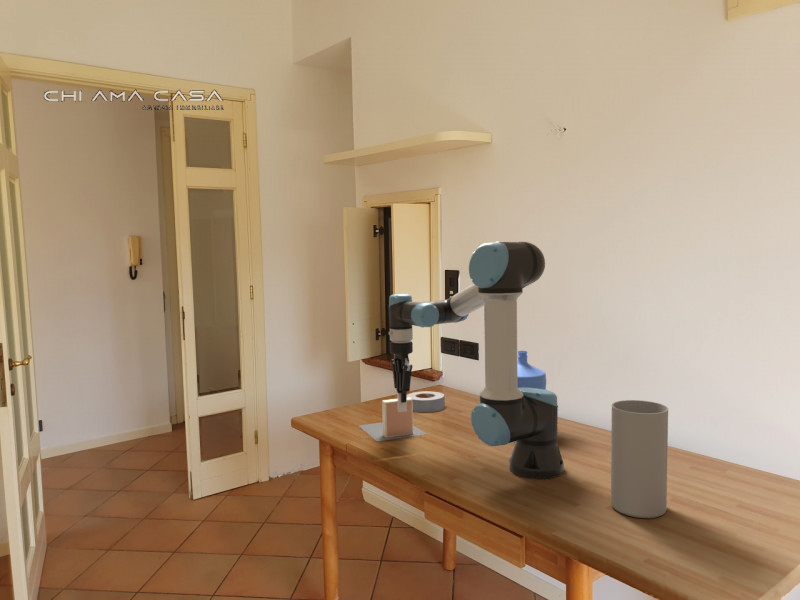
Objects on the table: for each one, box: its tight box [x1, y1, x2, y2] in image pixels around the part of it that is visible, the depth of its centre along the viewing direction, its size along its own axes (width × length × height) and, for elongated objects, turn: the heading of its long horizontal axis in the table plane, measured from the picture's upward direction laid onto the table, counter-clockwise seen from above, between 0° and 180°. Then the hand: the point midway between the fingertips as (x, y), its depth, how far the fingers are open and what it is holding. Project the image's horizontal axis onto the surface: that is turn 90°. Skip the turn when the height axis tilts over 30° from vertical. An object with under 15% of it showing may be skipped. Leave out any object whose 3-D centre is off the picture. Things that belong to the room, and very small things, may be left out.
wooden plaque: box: [381, 397, 414, 438], centre depth 207 cm, size 3×10×12 cm, turn 112°
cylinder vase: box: [610, 399, 669, 519], centre depth 146 cm, size 12×12×25 cm
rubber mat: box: [358, 422, 427, 442], centre depth 213 cm, size 20×18×1 cm
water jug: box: [517, 350, 547, 390], centre depth 208 cm, size 16×16×28 cm
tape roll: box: [407, 390, 446, 413], centre depth 244 cm, size 15×15×5 cm
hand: (402, 411), depth 203 cm, fingers closed
